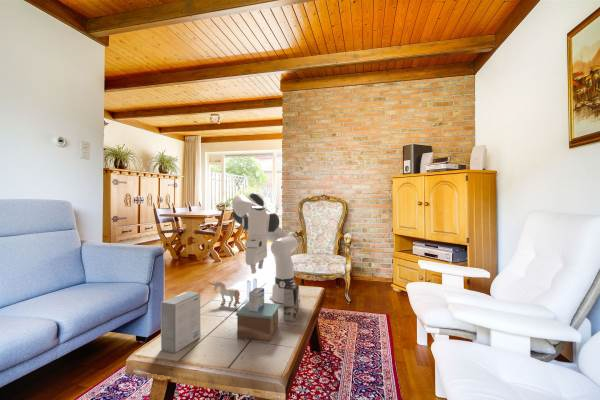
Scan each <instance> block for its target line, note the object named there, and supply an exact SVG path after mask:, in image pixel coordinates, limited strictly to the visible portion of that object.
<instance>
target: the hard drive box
mask: <svg viewBox="0 0 600 400" xmlns="http://www.w3.org/2000/svg"><path fill="white" fill-rule="evenodd" d="M201 333H202V332H201V293H200V292H195V291H190V290H187V291H185V292H181V293H179V294H177V295H175V296H172V297H170V298H168V299H165V300H163V301H161V302H160V347H161V348H160V350H161V349H162V350H161V351H163V350H165V352H167V351H168V352H167V353H171V352H172V353H173V354H176V353H177V352H179V351H181V350H182V349H184V348H185V347H186V346H187V347H188V345H190V344H192V343H193V342H195V341H196V340H198V339H200V338H201V336H202V335H201ZM180 349H181V350H180Z"/></svg>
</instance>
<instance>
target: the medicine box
mask: <svg viewBox="0 0 600 400" xmlns="http://www.w3.org/2000/svg"><path fill="white" fill-rule="evenodd" d="M248 302H249V311H254V312H258V311H259V310H260V309H261V308H263V307H264V303H265V288H264V287H255V288H254V289H252V290H251V291H249V292H248Z"/></svg>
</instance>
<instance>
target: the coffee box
mask: <svg viewBox="0 0 600 400" xmlns="http://www.w3.org/2000/svg"><path fill="white" fill-rule="evenodd" d="M299 288H300V285H299V284H295V285H287V286H286V287H285V289H284V303H283V320H284V321H288V322H289V321H291V322H296V320H297V318H298V316H299V314H300V313H299V306H300V305H299V302H300V291H299V290H300V289H299Z"/></svg>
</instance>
